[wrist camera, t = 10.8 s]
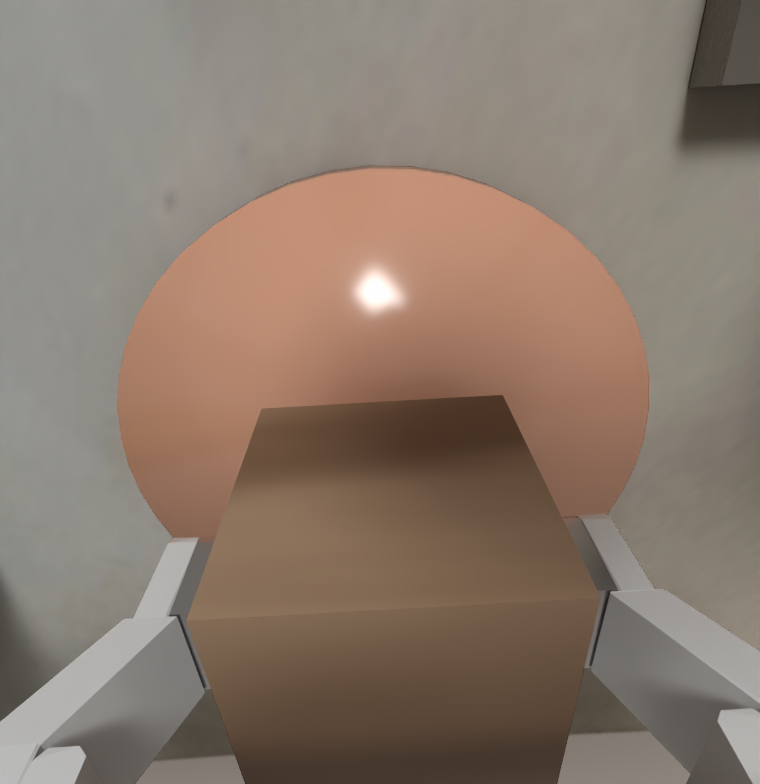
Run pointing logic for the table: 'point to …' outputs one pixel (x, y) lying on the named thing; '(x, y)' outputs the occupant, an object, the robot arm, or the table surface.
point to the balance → (728, 45)
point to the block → (394, 600)
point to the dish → (380, 333)
